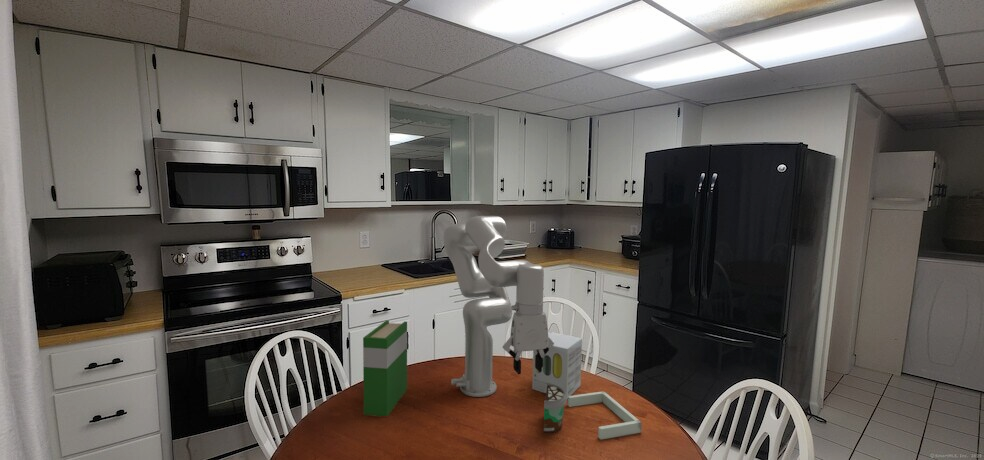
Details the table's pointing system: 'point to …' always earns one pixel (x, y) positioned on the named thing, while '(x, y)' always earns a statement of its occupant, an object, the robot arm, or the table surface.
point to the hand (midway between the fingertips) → (528, 370)
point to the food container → (554, 408)
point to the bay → (615, 430)
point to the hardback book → (384, 367)
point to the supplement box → (560, 365)
